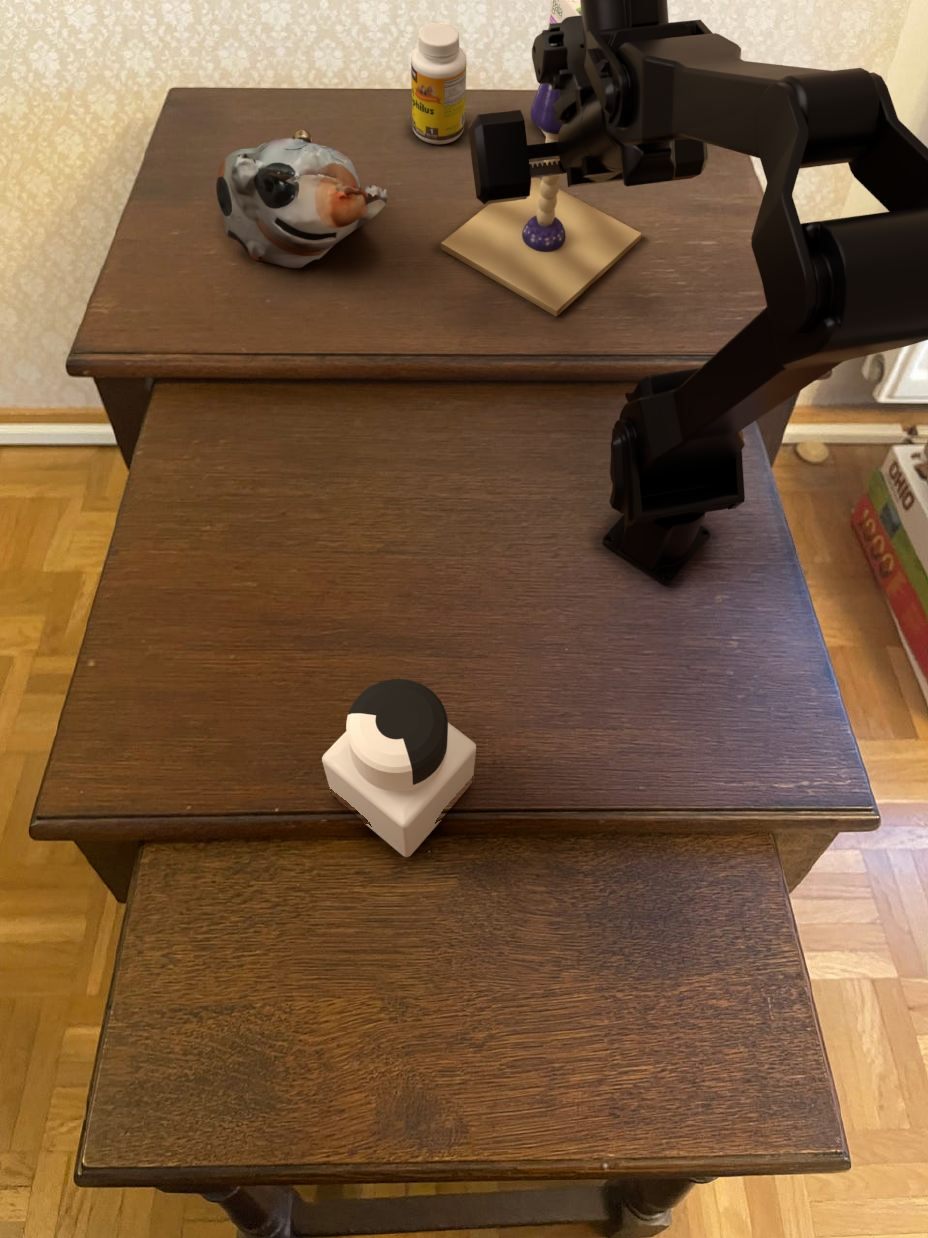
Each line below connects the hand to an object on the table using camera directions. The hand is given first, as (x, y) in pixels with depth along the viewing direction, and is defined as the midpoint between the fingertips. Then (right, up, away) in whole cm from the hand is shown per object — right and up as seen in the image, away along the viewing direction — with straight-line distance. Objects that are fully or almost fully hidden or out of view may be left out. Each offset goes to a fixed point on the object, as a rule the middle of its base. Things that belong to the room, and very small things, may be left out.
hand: (560, 167), depth 85 cm
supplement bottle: (-11, +12, +19) cm, 25 cm away
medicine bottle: (-13, -51, -17) cm, 56 cm away
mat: (-1, -3, +10) cm, 11 cm away
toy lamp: (-1, -3, +10) cm, 10 cm away
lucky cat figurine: (-24, -2, +10) cm, 26 cm away
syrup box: (+3, +12, +19) cm, 23 cm away
